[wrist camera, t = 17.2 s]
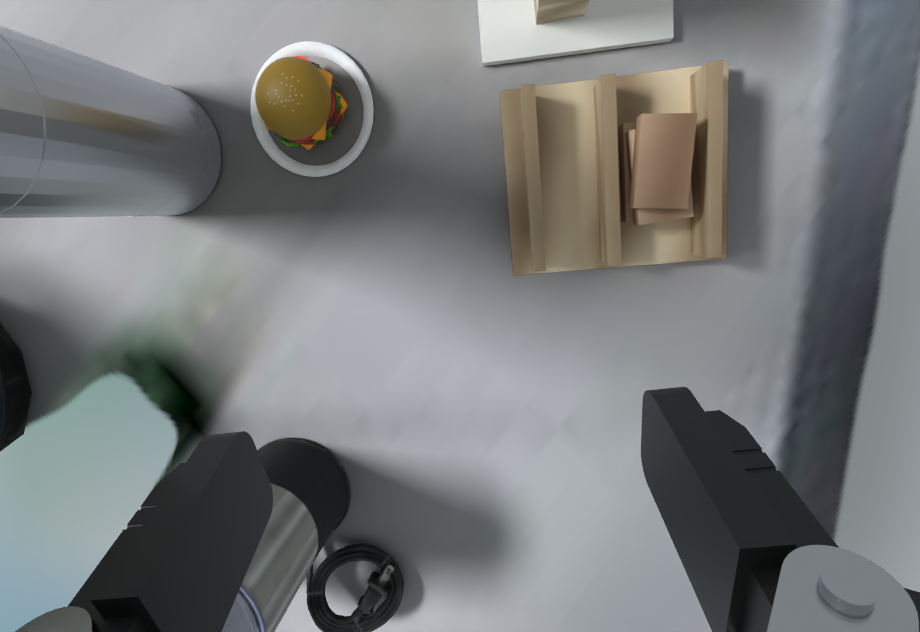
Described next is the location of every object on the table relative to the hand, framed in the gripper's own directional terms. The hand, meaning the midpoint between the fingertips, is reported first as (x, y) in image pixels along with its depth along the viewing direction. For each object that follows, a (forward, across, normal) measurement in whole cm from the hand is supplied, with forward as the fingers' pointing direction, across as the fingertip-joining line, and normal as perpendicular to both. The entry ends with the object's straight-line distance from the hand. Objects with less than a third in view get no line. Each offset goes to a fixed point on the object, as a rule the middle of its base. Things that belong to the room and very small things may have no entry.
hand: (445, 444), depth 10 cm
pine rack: (+27, -10, +1) cm, 29 cm away
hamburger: (+31, +10, -5) cm, 33 cm away
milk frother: (+22, +14, +26) cm, 37 cm away
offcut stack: (+25, -12, +1) cm, 28 cm away
